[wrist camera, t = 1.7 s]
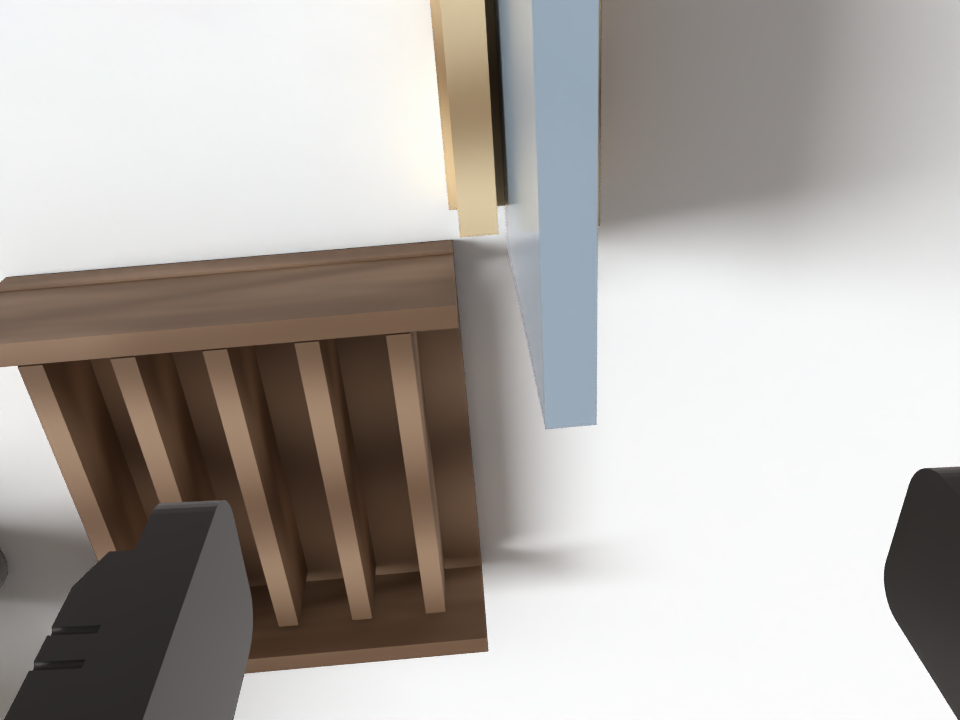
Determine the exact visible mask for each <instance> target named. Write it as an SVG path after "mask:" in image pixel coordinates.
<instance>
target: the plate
mask: <svg viewBox="0 0 960 720" xmlns="http://www.w3.org/2000/svg"><path fill="white" fill-rule="evenodd" d="M494 18H495V36H496V54H497V73H498V91H499V109H500V128H501V146H502V164H503V182H504V201H505V219H506V237H507V249H508V253H509V258H510V263H511V268H512V272H513V277H514V282H515V286H516V291H517V296H518V301H519V305H520V310H521V315H522V320H523V324H524V329H525V334H526V339H527V343H528V348H529V353H530V357H531V362H532V367H533V372H534V376H535V381H536V386H537V391H538V395H539V400H540V405H541V409H542V414H543V419H544V424H545V428H546V429H553V428H564V427H576V426H587V425H596V417H597V250H598V83H599V0H494Z"/></svg>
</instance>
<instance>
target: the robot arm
mask: <svg viewBox="0 0 960 720" xmlns="http://www.w3.org/2000/svg"><path fill="white" fill-rule="evenodd" d="M884 585H885V592H886V597H887V601H888V604H889V607H890V609H891V612H892V614H893V616H894V618H895V620H896V621H897V623H898V625H899V626H900V628H901V629H902V631H903V633H904V634H905V636H906V637H907V639H908V641H909V642H910V644H911V645H912V647H913V648H914V650H915V652H916V653H917V655H918V656H919V658H920V660H921V661H922V663H923V664H924V666H925V668H926V669H927V671H928V672H929V674H930V676H931V677H932V679H933V680H934V682H935V684H936V685H937V687H938V688H939V690H940V692H941V693H942V695H943V696H944V698H945V700H946V701H947V703H948V704H949V706H950V708H951V709H952V711H953V712H954V714H955V716H956V717H957V719H958V720H960V467H942V468H924V469H921V470H919V471H917V472H916V473H915V474H914V476H913V477H912V479H911V481H910V484H909V487H908V490H907V493H906V497H905V500H904V503H903V507H902V510H901V513H900V516H899V520H898V523H897V526H896V530H895V533H894V536H893V540H892V543H891V546H890V550H889V553H888V556H887V560H886V563H885V569H884ZM252 630H253V607H252V597H251V592H250V587H249V583H248V578H247V574H246V569H245V565H244V560H243V556H242V552H241V547H240V543H239V538H238V534H237V529H236V525H235V520H234V516H233V512H232V509H231V506H230V505H229V503H228V502H227V501H226V500H215V501H194V502H173V503H160V504H158V505H157V506H156V507H155V508H154V509H153V511H152V513H151V515H150V517H149V519H148V522H147V524H146V526H145V528H144V530H143V533H142V535H141V537H140V539H139V542H138V544H137V546H136V548H135V550H128V551H109V552H108V553H107V554H106V555H105V556H104V557H103V558H102V559H101V560H100V561H99V562H98V563H97V564H96V565H95V566H94V567H93V568H92V569H90V570H89V571H88V572H87V573H86V574H85V575H84V576H83V577H82V578H81V579H80V580H79V581H78V582H77V583H76V584H75V585H74V586H73V587H72V589H71V591H70V593H69V595H68V597H67V599H66V601H65V602H64V604H63V606H62V608H61V610H60V612H59V614H58V616H57V618H56V620H55V622H54V624H53V626H52V634H51V636H47V637H46V639H45V641H44V643H43V645H42V647H41V649H40V651H39V653H38V655H37V657H36V659H35V661H34V669H33V671H29V672H28V674H27V676H26V678H25V680H24V682H23V684H22V686H21V688H20V690H19V692H18V694H17V696H16V698H15V700H14V702H13V703H12V705H11V707H10V709H9V711H8V713H7V715H6V717H5V719H4V720H233V719H234V715H235V710H236V706H237V702H238V698H239V694H240V690H241V685H242V681H243V677H244V673H245V669H246V665H247V661H248V656H249V652H250V647H251V641H252Z"/></svg>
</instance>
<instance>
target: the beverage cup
mask: <svg viewBox="0 0 960 720" xmlns="http://www.w3.org/2000/svg"><path fill="white" fill-rule="evenodd" d="M6 575H7V562H6V560H5V558H4V556H3V554H2V552H1V550H0V588H1V586H2V584H3V582H4V580H5V577H6Z"/></svg>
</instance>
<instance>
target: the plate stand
mask: <svg viewBox="0 0 960 720" xmlns="http://www.w3.org/2000/svg"><path fill="white" fill-rule="evenodd" d="M430 6H431V17H432V28H433V39H434V50H435V61H436V72H437V83H438V94H439V105H440V116H441V127H442V138H443V149H444V160H445V171H446V182H447V193H448V204H449V210H455V209H458V216H459V227H460V237H470V236H482V235H494V234H498V218H497V206H503V205H505V201H504V182H503V164H502V146H501V128H500V109H499V91H498V73H497V54H496V36H495V18H494V0H430ZM600 127H601V0H599V83H598V226H600Z"/></svg>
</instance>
